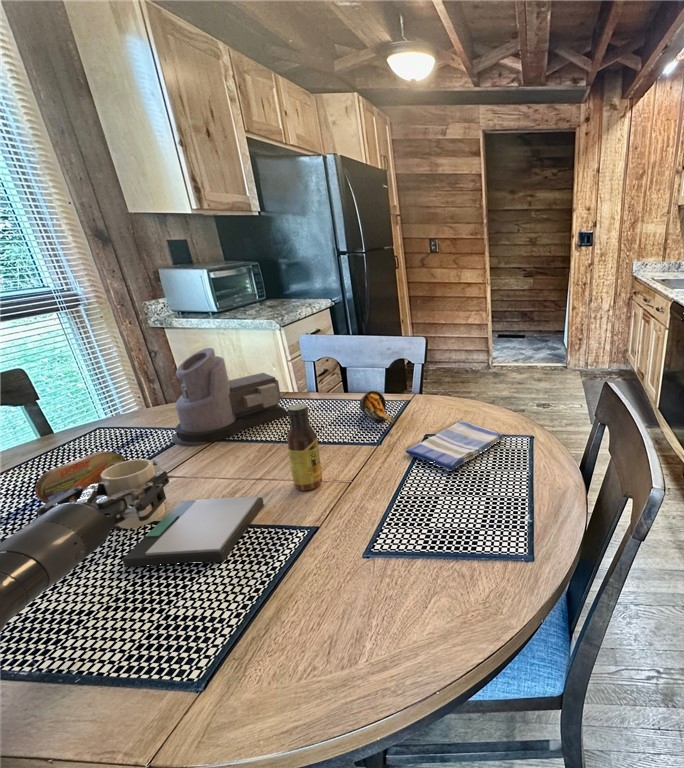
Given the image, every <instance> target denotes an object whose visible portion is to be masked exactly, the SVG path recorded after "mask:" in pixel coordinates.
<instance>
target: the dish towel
mask: <svg viewBox="0 0 684 768" xmlns="http://www.w3.org/2000/svg"><path fill="white" fill-rule="evenodd" d="M504 439H505V438H504V437H503V433H501V432H497V431H495V430H492V429H488V428H486V427H484V426H479V425H476V424H473V423H472V422H468V421H465V420H460V421H457V422H455V423H454V424H453V425H451V426H450V427H447V428H446V429H443V430H442V431H440V432H438V433H436V434H435V435H433V436H431V437H429V438H427V439H424V440H423V441H422V442H420V443H418V444H415V445H414V446H412V447H409V448H407V449H406V450H405V453H406V454H407V455H409V456H412V457H413V456H414V457H413V458H416V457H417V459H418V458H420V459H422V460H426V461H428V462H433V461H435V462H433V464H436V465H438V466H440V467H443V468H445V469H448V470H452V469H455V468H456V467H458V468H459V467H461V466H462V465H464V464H466V463H468V462H470V461H471V460H473V459H475V458H476V457H478V456H479V455H478V454H480V452H482V451H483V450H485V449H486V448H488V447H490V446H491V445H493V444H495V443H496V442H498V441H500V442H502V441H503V440H504ZM477 455H478V456H477ZM475 456H476V457H475ZM420 459H419V460H420ZM422 460H421V461H422ZM469 460H470V461H469ZM467 461H468V462H467ZM465 462H466V463H465ZM460 465H461V466H460ZM456 469H457V468H456ZM456 469H455V470H456Z"/></svg>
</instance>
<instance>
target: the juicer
mask: <svg viewBox="0 0 684 768" xmlns="http://www.w3.org/2000/svg"><path fill="white" fill-rule="evenodd" d="M175 375H176V378H177V380H178V383H179V388H180V391H181V395H180V396H179V397H178V399H177V400H176V402H175V404H174V405H175V409H176V413H177V416H178V417H177V418H178V421H179V423H178V424H177V425H176V427H175V433H174V434H173V436H172V437H171V441H172V442H173V443H174V444H175V445H178V446H181V447H199V446H203V445H206V444H210V443H214V442H215V443H216V442H219V441H223V440H225V439H229V438H232V437H233V436H235V435H237V434H239V433H240V432H242V431H244V430H247V429H251V428H254V427H257V426H261V425H263V424H266V423H270V422H273V421H275V420H279V419H282V418H284V417H287V416H288V417H289V414H288V410H286V409H285V408H283V407H282V406H281V405H279V404H280V401H281V400H282V397H281V389H280V384H279V380H278V379H277V378H276V377H275V376H272V375H270V374H267V373H265V372H260V373H256V374H252V375H247V376H243V377H238V378H233V379H230V380H229V376H228V372H227V368H226V363H225V359H224V358H223V357H222V356H218V355H216V354H215V350H214V348H212V347H206V348H203V349H201V350H198V351H196V352H194V353H193V354H191V355H190V356H188V357H187V358H186V359H185V360H184V361H182V362H181V364H180V365H179V366H178V367H177V369H176V371H175Z"/></svg>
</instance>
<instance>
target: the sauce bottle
mask: <svg viewBox="0 0 684 768" xmlns="http://www.w3.org/2000/svg"><path fill="white" fill-rule="evenodd" d="M286 411H288V414H289V415H288V417H289V426H290V428H289V430H288V431H287V434H286V442H287V452H288V457H289V464H290V471H291V477H292V482H293V485H294V488H295V489H296V490H298V491H301V492H303V491H305V492H306V491H312V490H314V489H316V488H318V487H319V486H321V484H322V483H323V472H322V471H323V470H322V462H321V456H320V448H319V441H318V435H317V434H316V431H315V430H314V429H313V427H312V426H311V424H310V421H309V408H308V405H307V404H305V403H297V404H293V405H292V404H291V405H290V406H288V407H287V410H286Z"/></svg>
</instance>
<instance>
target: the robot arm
mask: <svg viewBox="0 0 684 768" xmlns="http://www.w3.org/2000/svg"><path fill="white" fill-rule="evenodd" d="M169 483H170V479H169V475H168V473H167V471H166V470H163V471H160V472H158V473H157V474H156V475H155V476H153V477H152V478H151V479H150V480H148V481H147V482H146V483H145V484H143V485H141V486H139V487H137V488H134V489H132V488H127V489H125V490H123V491H121V492H119V493H116V494H114V495H111V496H107V493H106V491H105V488H104V485H103V482H102V481H101V482H100V483H99V484H94V485H91V486H89V487H88V488H87V489H83V488H82V487H76V488H73V489H72V490H70V491H68V492H66V493H65V494H63V495H61V496H59V497H57V498H56V499H54V500H52V501H50V502H49V503H47V504H46V503H44V504H43V505H42V506H40V507H38V508H37V509H35V510H36V513H37V516H38V517H37V518H35V519H34V520H33V521H31V522H29V523H28V524H26V525H25V526H24V527H22V528H20V529H19V530H18V531H16V532H15V533H13V534H11V535H10V536H9V537H7V538H5V540H3V541H2V542H0V633H1V632H2V631H3V630H4V628H5V627H6V626H7V624H8V622H9V621H10V620H11V619H13V618H14V617H15V616H16V615H18V614H19V613H20V612H21V611H23V610H24V609H25V608H26V607H28V606H29V604H31V603H32V602H33V601H34V600H36V599H37V598H38V597H39V596H40V595H41V594H42V593H44V592H45V591H46V590H47V589H49V588H50V587H51V586H53V585H55V584H56V583H57V582H58V581H61V580H62V579H63V578H64V577H66V576H67V575H68V574H70V572H71V571H73V570H74V569H75V568H76V567H77V566H78V565H79V564H80V563H82V562H83V561H84V560H85V559H87V558H88V557H89V556H90V555H91V554H92V553H93V552H94V551H96V550H97V549H98V548H99V547H100V546H102V545H103V543H105V542H106V541H107V539H108V537H109V536H110V534H111V531H112V530H113V529H112V528H113V526H115V525H117V524H118V523H120V522H122V521H124V520H125V519H126V518H129V517H138V518H139V521H145V520H147V519H149V518H150V517H151V515H152V514H153V513H154V512H155V511H156V510H157V509H158V507H159V506H160V505H161V504H162V503H163V502H164V503H165V502H166V500H167V496H166V493H165V489H164V488H165V487H166V486H167V485H168V484H169ZM143 491H144V492H145V495H144V497H142V498H140V499H139V496H138V495H139V493H141V492H143ZM126 496H128V499H129V502H130V505H129V506H128V507H127V503H126V500H125V498H124V497H126ZM72 497H74V499H75V501H74V502H72V503H70V501H69V500H70V498H72Z"/></svg>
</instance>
